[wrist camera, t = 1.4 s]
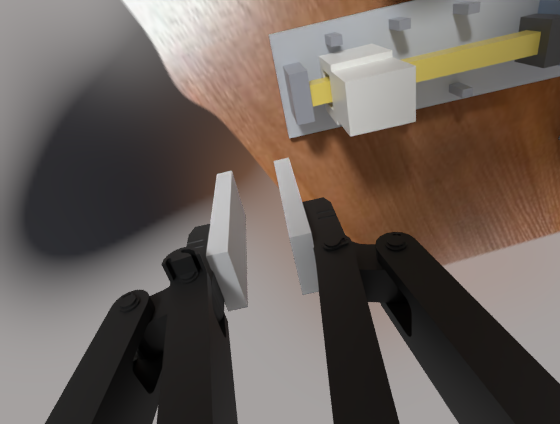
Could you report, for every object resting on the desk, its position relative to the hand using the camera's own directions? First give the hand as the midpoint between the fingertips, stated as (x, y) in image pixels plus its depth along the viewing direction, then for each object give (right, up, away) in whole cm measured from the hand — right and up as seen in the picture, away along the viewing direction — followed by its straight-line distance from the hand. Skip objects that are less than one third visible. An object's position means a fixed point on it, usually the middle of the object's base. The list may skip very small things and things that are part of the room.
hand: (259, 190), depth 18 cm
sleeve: (+8, +12, +15) cm, 21 cm away
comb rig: (+15, +14, +17) cm, 27 cm away
